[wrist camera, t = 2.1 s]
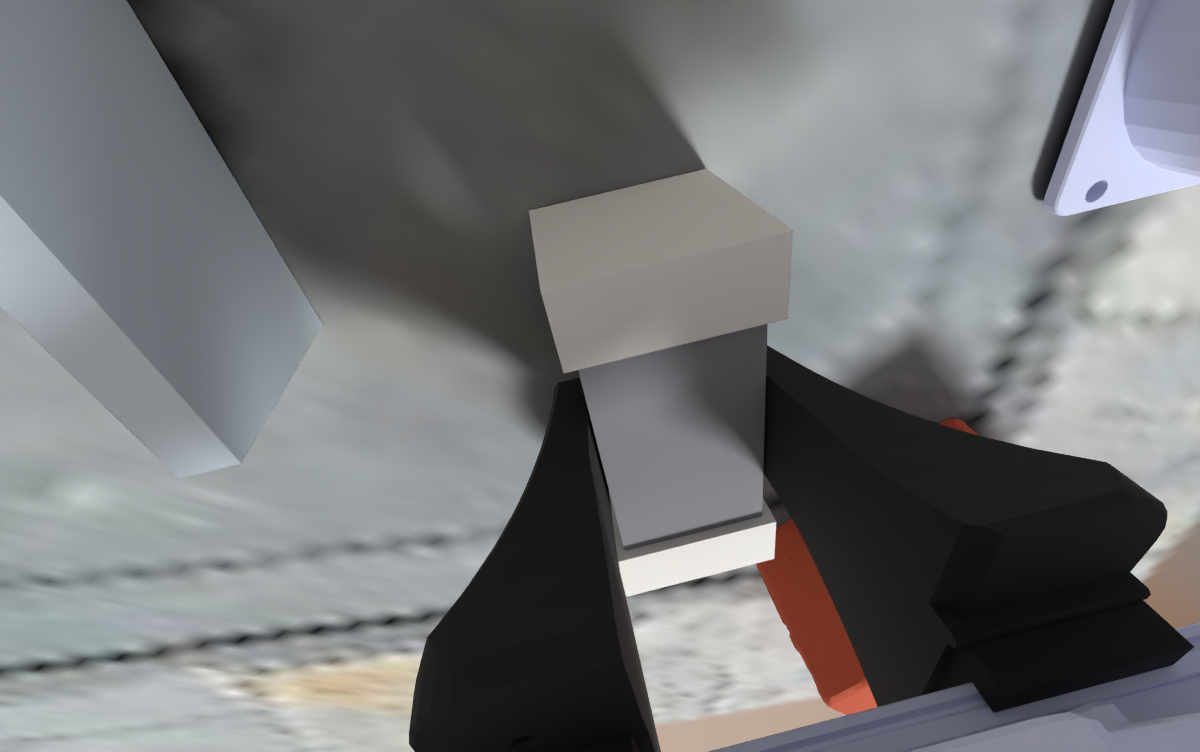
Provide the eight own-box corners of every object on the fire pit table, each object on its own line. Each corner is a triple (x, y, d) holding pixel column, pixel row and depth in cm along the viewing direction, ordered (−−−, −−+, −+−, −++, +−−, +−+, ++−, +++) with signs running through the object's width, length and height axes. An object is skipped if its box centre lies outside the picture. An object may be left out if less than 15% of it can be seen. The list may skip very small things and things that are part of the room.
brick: (742, 542, 20) (819, 707, 15) (950, 406, 17) (1125, 556, 12) (904, 650, 29) (983, 774, 24) (1056, 573, 26) (1180, 696, 22)
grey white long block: (706, 168, 11) (792, 230, 8) (720, 452, 16) (774, 558, 13) (528, 210, 11) (540, 290, 8) (601, 482, 16) (626, 596, 13)
